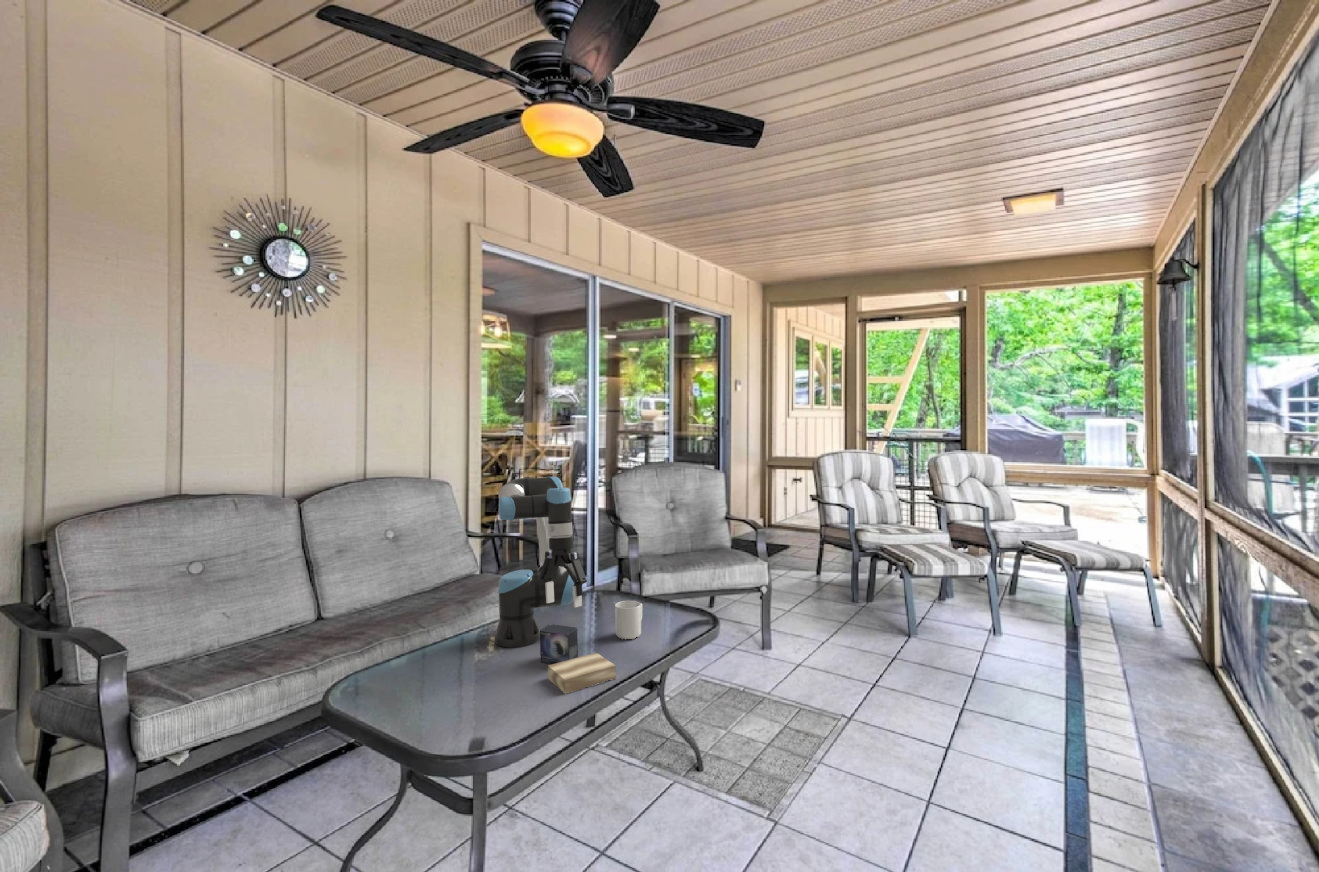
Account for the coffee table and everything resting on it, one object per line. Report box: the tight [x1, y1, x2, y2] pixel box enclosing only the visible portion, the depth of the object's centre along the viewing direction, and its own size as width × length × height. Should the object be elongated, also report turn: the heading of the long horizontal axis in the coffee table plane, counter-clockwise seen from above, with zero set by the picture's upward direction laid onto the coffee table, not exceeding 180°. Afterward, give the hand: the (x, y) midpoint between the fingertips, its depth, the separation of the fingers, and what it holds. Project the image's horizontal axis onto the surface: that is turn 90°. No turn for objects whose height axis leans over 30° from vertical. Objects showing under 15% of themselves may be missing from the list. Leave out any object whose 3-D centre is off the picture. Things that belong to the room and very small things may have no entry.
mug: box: [614, 600, 643, 641], centre depth 211 cm, size 12×9×11 cm
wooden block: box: [547, 652, 617, 695], centre depth 176 cm, size 12×16×4 cm
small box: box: [539, 623, 579, 665], centre depth 190 cm, size 11×6×10 cm, turn 68°
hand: (563, 604), depth 190 cm, fingers open, 13 cm apart
